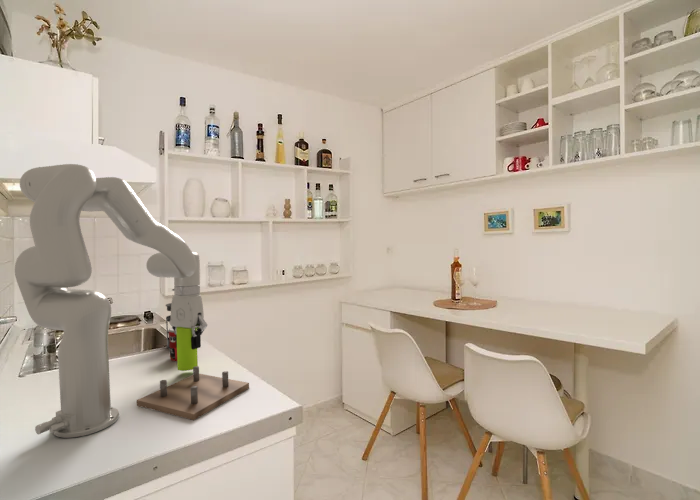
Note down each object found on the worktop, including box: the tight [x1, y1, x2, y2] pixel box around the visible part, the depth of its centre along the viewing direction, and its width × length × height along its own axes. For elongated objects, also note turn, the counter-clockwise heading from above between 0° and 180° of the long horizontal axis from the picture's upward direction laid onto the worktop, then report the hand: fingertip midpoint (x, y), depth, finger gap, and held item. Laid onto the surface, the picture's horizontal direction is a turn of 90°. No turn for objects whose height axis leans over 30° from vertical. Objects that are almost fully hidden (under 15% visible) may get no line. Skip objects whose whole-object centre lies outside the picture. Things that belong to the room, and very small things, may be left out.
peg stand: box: [136, 365, 250, 421], centre depth 102 cm, size 20×20×6 cm
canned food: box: [168, 327, 177, 362], centre depth 134 cm, size 8×8×11 cm
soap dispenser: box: [176, 327, 199, 372], centre depth 119 cm, size 6×7×20 cm
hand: (188, 346), depth 119 cm, fingers closed on soap dispenser, 5 cm apart
